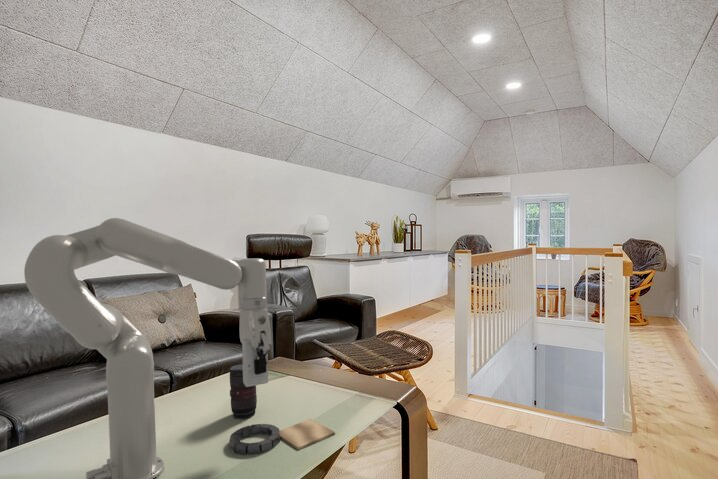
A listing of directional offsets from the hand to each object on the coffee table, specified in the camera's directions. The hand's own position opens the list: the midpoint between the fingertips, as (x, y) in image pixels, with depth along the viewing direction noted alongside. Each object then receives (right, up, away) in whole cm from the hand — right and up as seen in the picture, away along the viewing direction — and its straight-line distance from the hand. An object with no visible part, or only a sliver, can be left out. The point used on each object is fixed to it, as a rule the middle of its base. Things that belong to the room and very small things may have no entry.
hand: (255, 370), depth 110 cm
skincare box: (0, -4, 0) cm, 4 cm away
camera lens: (-8, -20, +18) cm, 28 cm away
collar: (0, -19, 0) cm, 19 cm away
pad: (+13, -19, +3) cm, 23 cm away
